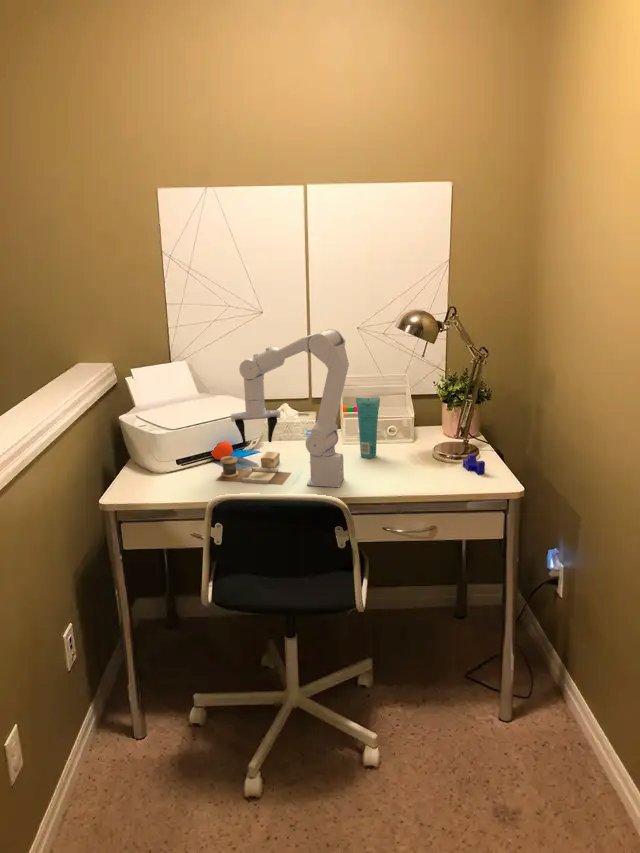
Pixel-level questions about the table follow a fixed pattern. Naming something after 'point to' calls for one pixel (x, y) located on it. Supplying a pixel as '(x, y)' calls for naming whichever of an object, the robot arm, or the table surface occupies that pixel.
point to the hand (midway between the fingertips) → (257, 442)
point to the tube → (368, 425)
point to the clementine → (222, 450)
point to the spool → (229, 466)
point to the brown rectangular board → (259, 476)
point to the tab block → (270, 460)
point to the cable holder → (474, 464)
